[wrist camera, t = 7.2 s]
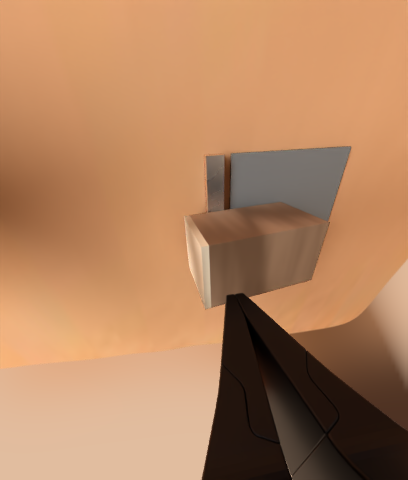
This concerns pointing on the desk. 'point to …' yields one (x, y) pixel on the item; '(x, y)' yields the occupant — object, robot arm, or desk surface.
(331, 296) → the desk surface
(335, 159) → the rubber mat
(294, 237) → the wooden block
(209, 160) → the stop strip
